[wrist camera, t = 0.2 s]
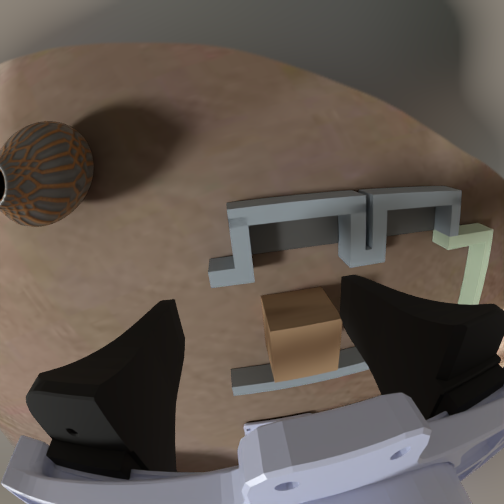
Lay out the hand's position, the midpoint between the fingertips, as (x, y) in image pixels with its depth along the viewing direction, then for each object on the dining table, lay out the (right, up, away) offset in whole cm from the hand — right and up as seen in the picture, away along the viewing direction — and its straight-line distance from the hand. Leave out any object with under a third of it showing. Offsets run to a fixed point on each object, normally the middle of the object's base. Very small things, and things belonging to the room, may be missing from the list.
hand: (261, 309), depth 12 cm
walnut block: (+3, -3, +12) cm, 13 cm away
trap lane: (+10, 0, +12) cm, 16 cm away
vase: (-14, +9, +6) cm, 18 cm away
